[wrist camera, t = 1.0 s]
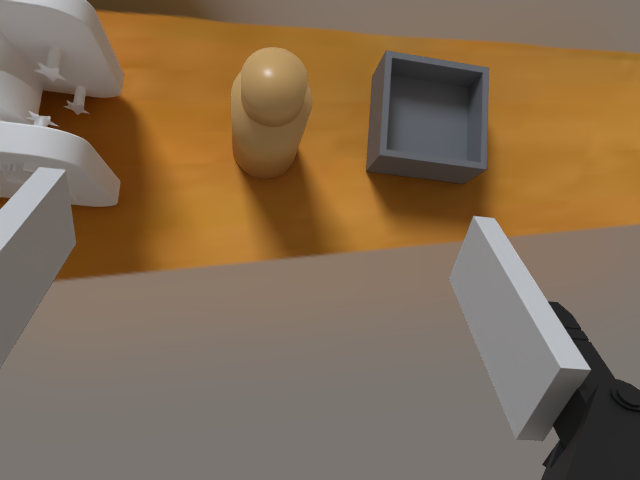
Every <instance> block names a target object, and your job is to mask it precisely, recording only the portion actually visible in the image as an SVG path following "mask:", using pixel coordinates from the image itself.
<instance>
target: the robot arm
mask: <svg viewBox="0 0 640 480" xmlns="http://www.w3.org/2000/svg"><path fill="white" fill-rule="evenodd" d="M75 245H76V238H75V231H74V224H73V216H72V209H71V202H70V195H69V188H68V180H67V173H66V170H62V169H53V168H44V167H39V168H38V169H37V170H36V171H35V172H34V173H33V175H32V176H31V177H30V178H29V179H28V180H27V181H26V182H25V183H24V184H23V185H22V186H21V188H20V189H19V190H18V191H17V192H16V193H15V194H14V195H13V196H12V197H11V198H10V200H9V201H8V202H7V203H6V204H5V205H4V206H3V207H2V208H1V209H0V367H1V366H2V364H3V362H4V361H5V359H6V358H7V356H8V354H9V353H10V351H11V349H12V348H13V346H14V344H15V343H16V341H17V340H18V338H19V336H20V335H21V333H22V331H23V330H24V328H25V327H26V325H27V323H28V322H29V320H30V318H31V317H32V315H33V313H34V312H35V310H36V309H37V307H38V305H39V304H40V302H41V300H42V299H43V297H44V295H45V294H46V292H47V291H48V289H49V287H50V286H51V284H52V282H53V281H54V279H55V278H56V276H57V274H58V273H59V271H60V269H61V268H62V266H63V264H64V263H65V261H66V260H67V258H68V256H69V255H70V253H71V251H72V250H73V248H74V246H75ZM449 280H450V282H451V285H452V287H453V290H454V292H455V294H456V297H457V299H458V302H459V304H460V306H461V309H462V311H463V313H464V316H465V318H466V320H467V323H468V326H469V328H470V330H471V332H472V335H473V338H474V340H475V342H476V345H477V347H478V349H479V352H480V354H481V357H482V359H483V362H484V364H485V366H486V368H487V371H488V373H489V376H490V378H491V381H492V383H493V385H494V388H495V390H496V392H497V395H498V397H499V400H500V402H501V405H502V407H503V409H504V412H505V414H506V416H507V419H508V421H509V424H510V426H511V429H512V431H513V433H514V436H515V438H516V439H519V440H538V441H543V440H544V439H545V437H546V436H547V435H548V433H549V432H550V430H551V429H552V427H554V428H555V430H556V433H557V435H558V437H559V439H560V440H559V441H558V443H557V444H556V446H555V447H554V449H553V450H552V451H551V453H550V454H549V456H548V457H547V459H546V460H545V461H544V463H543V465H544V466H545V467H546V469H545V472H544V474H543V477H542V479H541V480H640V390H639V389H637V388H636V387H634V386H633V385H631V384H629V383H626V382H624V381H621V380H617V379H615V378H614V376H613V375H612V373H611V372H610V370H609V369H608V367H607V366H606V364H605V363H604V361H603V360H602V358H601V357H600V355H599V354H598V352H597V351H596V349H595V348H594V347H593V345H592V343H591V342H589V341H588V338H587V336H586V335H585V333H584V332H583V331H581V327H580V326H579V324H578V323H577V321H576V320H575V318H574V317H573V315H572V314H571V313H569V312H568V311H567V310H566V309H565V308H564V307H562V306H561V305H560V304H559V303H558V302H548V301H547V300H546V298H545V297H544V295H543V294H542V292H541V290H540V289H539V287H538V286H537V284H536V283H535V281H534V279H533V278H532V276H531V275H530V273H529V272H528V270H527V268H526V267H525V265H524V264H523V262H522V261H521V259H520V258H519V256H518V254H517V253H516V251H515V250H514V248H513V247H512V245H511V243H510V242H509V240H508V239H507V237H506V235H505V234H504V232H503V231H502V229H501V228H500V226H499V224H498V223H497V221H496V220H495V218H488V217H479V216H473V218H472V221H471V223H470V226H469V228H468V231H467V234H466V236H465V239H464V241H463V244H462V247H461V249H460V252H459V254H458V257H457V260H456V262H455V265H454V267H453V270H452V272H451V275H450V278H449Z"/></svg>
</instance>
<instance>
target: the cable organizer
mask: <svg viewBox="0 0 640 480" xmlns="http://www.w3.org/2000/svg"><path fill="white" fill-rule="evenodd" d="M123 80H124V73H123V71H122V68H121V66H120V64H119V62H118V60H117V57H116V55H115V53H114V51H113V49H112V46H111V44H110V42H109V40H108V38H107V35H106V33H105V31H104V29H103V27H102V24H101V22H100V20H99V18H98V16H97V13H96V11H95V9H94V8H93V7H92V5H91V4H89V3H88V2H87V1H86V0H0V197H3V198H11V197H12V196H13V195H14V194H15V193H16V192H17V191H18V190H19V189H20V188H21V186H22V185H23V184H24V183H25V182H26V181H27V180H28V179H29V178H30V177H31V176H32V175H33V173H34V172H35V171H36V170H37V169H38V168H39V167H44V168H53V169H62V170H66V173H67V180H68V188H69V195H70V202H71V204H72V205H81V206H93V207H106V206H113V205H116V204H117V203H118V197H119V191H120V184H121V182H120V180H119V179H118V178H117V176H116V175H115V174H114V173H113V171H112V170H111V169H110V168H109V166H108V165H107V164H106V163H105V162H104V160H103V159H102V158H101V157H100V155H99V154H98V153H97V152H96V150H95V149H94V148H93V147H92V145H91V144H90V143H89V142H88V141H86V140H85V139H83V138H81V137H79V136H76V135H74V134H71V133H68V132H65V131H61V130H57V129H53V128H49V127H48V124H49V125H54V126H58V125H56V124H54V123H53V122H51V121H50V117H51V116H39V115H38V114H39V108H40V103H41V97H42V92H43V90H44V91H52V92H60V93H67V94H75V95H74V101H73V103H71V102H70V101H68V100H67V102H68V104H69V105H68V106H63V107H65V108H68V109H71V110H73V111H74V112H75V113H76V114H77V115H79V114H80V113H81V112H82V113H87V114H90V113H88V112H87V111H85V110H84V102H85V96H90V97H99V98H110V97H116V96H118V95H120V94H121V93H122V87H123ZM59 127H60V126H59Z"/></svg>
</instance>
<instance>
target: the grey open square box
mask: <svg viewBox="0 0 640 480" xmlns="http://www.w3.org/2000/svg"><path fill="white" fill-rule="evenodd" d="M488 91H489V68H488V67H482V66H476V65H470V64H464V63H458V62H452V61H446V60H440V59H434V58H428V57H422V56H416V55H410V54H404V53H398V52H392V51H385V53H384V55H383V57H382V59H381V61H380V63H379V65H378V66H377V68H376V70H375V72H374V74H373V76H372V89H371V104H370V119H369V134H368V149H367V164H366V171H367V172H375V173H383V174H390V175H398V176H406V177H413V178H421V179H429V180H436V181H444V182H451V183H459V184H465V183H466V182H468V181H469V180H471V179H473V178H474V177H476V176H477V175H479V174H480V173H482V172H484V171H485V170H487V138H488Z"/></svg>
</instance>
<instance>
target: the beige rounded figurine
mask: <svg viewBox="0 0 640 480" xmlns="http://www.w3.org/2000/svg"><path fill="white" fill-rule="evenodd" d="M311 108H312V93H311V89H310V87H309V84H308V75H307V71H306V68H305V66H304V65H303V63H302V62H301V60H300V59H299V58H298V57H297V56H295V55H294V54H293V53H291V52H289V51H287V50H285V49H281V48H275V47H269V48H264V49H260V50H258V51H256V52H254V53H253V54H252V55H250V56H249V58H248V59H247V60H246V61H245V63H244V65H243V68H242V71H241V72H240V73H239V74H238V76H237V77H236V79H235V81H234V83H233V86H232V90H231V115H232V146H233V155H234V158H235V160H236V162H237V164H238V165H239V167H240V168H241V169H242V170H243V171H245V172H246V173H247V174H249V175H251V176H253V177H256V178H260V179H271V178H275V177H278V176H280V175H282V174H283V173H285V172H286V171H287V170H288V169H289V168H290V167H291V165H292V164H293V162H294V159H295V156H296V153H297V150H298V147H299V144H300V141H301V138H302V135H303V132H304V129H305V126H306V123H307V120H308V117H309V114H310V111H311Z"/></svg>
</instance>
